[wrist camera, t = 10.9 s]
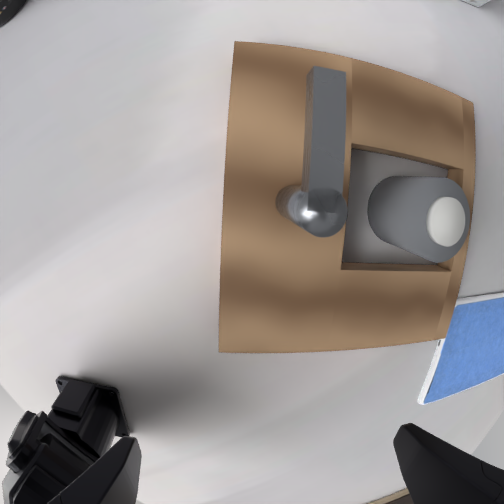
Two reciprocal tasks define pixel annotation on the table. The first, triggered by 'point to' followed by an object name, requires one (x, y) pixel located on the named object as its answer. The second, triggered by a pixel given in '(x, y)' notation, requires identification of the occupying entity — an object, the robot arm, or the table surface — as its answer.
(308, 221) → the hook post
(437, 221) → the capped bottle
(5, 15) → the supplement bottle
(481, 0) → the skincare box
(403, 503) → the hardcover book
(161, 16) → the table surface
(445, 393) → the tablet computer
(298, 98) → the base board
